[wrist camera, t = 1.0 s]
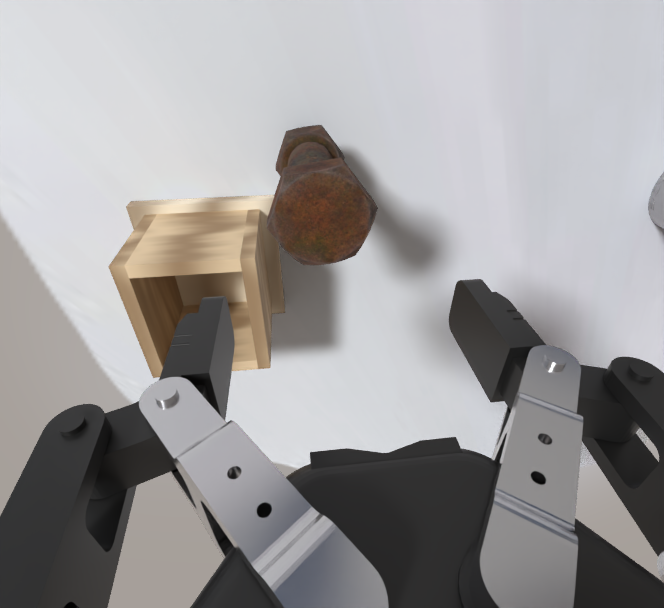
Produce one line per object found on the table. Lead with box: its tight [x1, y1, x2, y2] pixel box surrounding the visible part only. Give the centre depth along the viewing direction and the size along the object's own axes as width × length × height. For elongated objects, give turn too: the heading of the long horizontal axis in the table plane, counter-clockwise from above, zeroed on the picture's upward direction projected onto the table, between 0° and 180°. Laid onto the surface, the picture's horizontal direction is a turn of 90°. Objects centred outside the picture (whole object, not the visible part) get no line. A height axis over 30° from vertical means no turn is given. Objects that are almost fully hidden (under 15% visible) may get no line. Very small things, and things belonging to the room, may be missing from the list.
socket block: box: [109, 195, 285, 378], centre depth 33 cm, size 12×12×10 cm
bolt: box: [267, 125, 378, 265], centre depth 26 cm, size 6×5×15 cm
